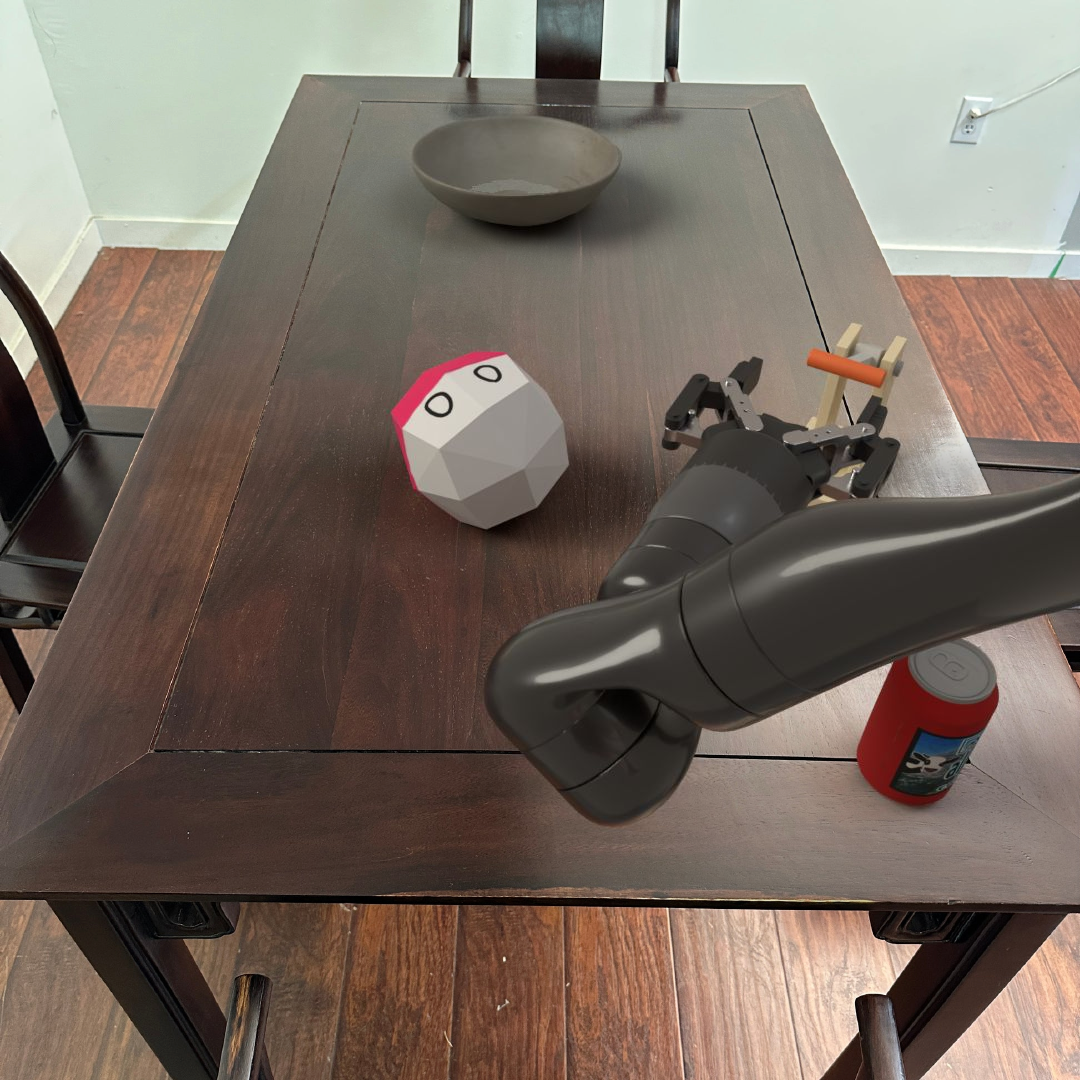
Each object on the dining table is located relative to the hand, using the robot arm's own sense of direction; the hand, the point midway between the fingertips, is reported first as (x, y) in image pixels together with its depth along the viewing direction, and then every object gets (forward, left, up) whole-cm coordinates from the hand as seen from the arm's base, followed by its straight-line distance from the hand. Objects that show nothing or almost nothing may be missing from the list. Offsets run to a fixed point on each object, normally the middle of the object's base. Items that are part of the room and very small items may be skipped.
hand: (813, 387), depth 67 cm
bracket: (0, -19, -21) cm, 29 cm away
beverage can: (-15, +11, -21) cm, 28 cm away
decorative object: (+27, +2, -22) cm, 35 cm away
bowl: (+56, -51, -21) cm, 79 cm away
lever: (0, -14, -7) cm, 16 cm away
